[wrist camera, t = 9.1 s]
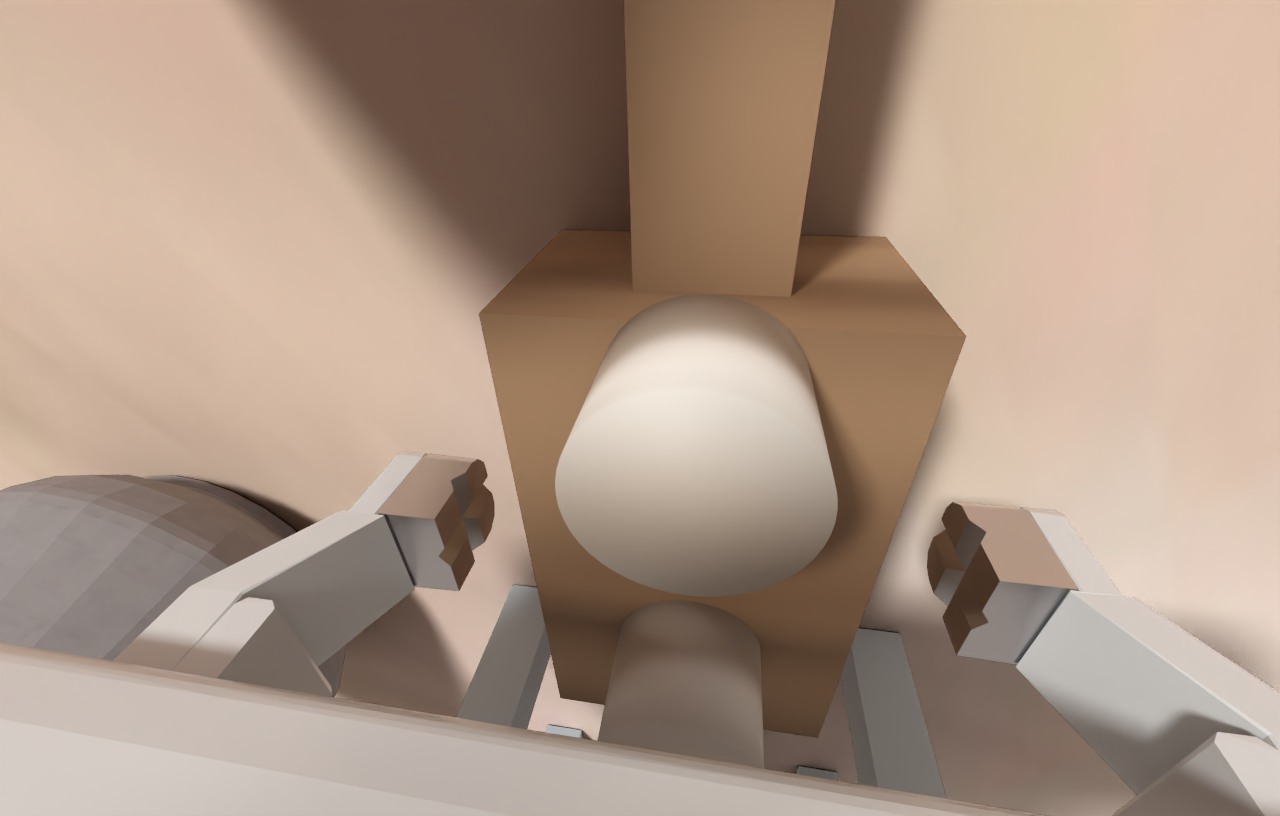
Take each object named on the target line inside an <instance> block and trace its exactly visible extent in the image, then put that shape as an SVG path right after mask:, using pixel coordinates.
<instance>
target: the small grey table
mask: <svg viewBox="0 0 1280 816" xmlns="http://www.w3.org/2000/svg"><path fill="white" fill-rule="evenodd" d="M550 654H551V651H550V646H549V641H548V637H547V632H546V627H545V622H544V618H543V613H542V608H541V604H540V599H539V594H538V589H537V588H536V587H528V586H520V585H513V586H512V588H511V590H510V593H509V595H508V597H507V600H506V602H505V604H504V607H503V609H502V611H501V614H500V616H499V618H498V621H497V623H496V625H495V628H494V630H493V632H492V635H491V637H490V639H489V642H488V644H487V646H486V649H485V651H484V653H483V656H482V658H481V660H480V663H479V665H478V667H477V670H476V672H475V674H474V677H473V679H472V681H471V684H470V686H469V688H468V691H467V693H466V695H465V698H464V700H463V702H462V705H461V707H460V709H459V712H458V714H457V716H456V718H462V719H468V720H474V721H480V722H486V723H492V724H498V725H504V726H510V727H516V728H522V729H527V727H528V724H529V721H530V718H531V715H532V711H533V708H534V705H535V702H536V699H537V696H538V692H539V689H540V686H541V683H542V680H543V676H544V673H545V670H546V667H547V664H548V661H549V657H550ZM841 678H842V684H843V690H844V696H845V702H846V708H847V714H848V720H849V726H850V732H851V739H852V745H853V751H854V757H855V763H856V769H857V775H858V781H859V784H861V785H867V786H873V787H879V788H885V789H891V790H897V791H903V792H909V793H915V794H921V795H927V796H933V797H939V798H945V799H947V797H946V793H945V790H944V786H943V783H942V779H941V776H940V772H939V769H938V765H937V761H936V758H935V754H934V751H933V747H932V744H931V740H930V737H929V733H928V729H927V726H926V722H925V719H924V715H923V712H922V708H921V704H920V701H919V697H918V694H917V690H916V687H915V683H914V680H913V676H912V672H911V669H910V665H909V662H908V658H907V655H906V651H905V648H904V644H903V640H902V637H901V634H900V633H893V632H885V631H877V630H869V629H861V628H858V630H857V633H856V636H855V638H854V641H853V644H852V646H851V649H850V652H849V654H848V657H847V660H846V663H845V665H844V668H843V671H842V673H841ZM546 732H547V733H553V734H559V735H565V736H571V737H577V738H583V737H582V731H581V730H576V729H570V728H564V727H558V726H552V725H547V729H546ZM796 774H801V775H807V776H813V777H819V778H825V779H831V780H837V781H839V780H838V773H837V772H831V771H825V770H819V769H813V768H807V767H801V766H799V767H798V769H797V772H796Z"/></svg>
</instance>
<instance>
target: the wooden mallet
mask: <svg viewBox="0 0 1280 816" xmlns="http://www.w3.org/2000/svg"><path fill="white" fill-rule="evenodd" d="M835 1H836V0H624V22H625V55H626V87H627V120H628V152H629V185H630V217H631V231H588V230H562V231H561V232H560V233H559V234H558V235H557V236H556V237H555V238H554V239H553V240H552V241H551V242H550V243H549V244H548V245H547V246H546V247H545V248H544V249H543V250H542V251H541V252H540V253H539V254H538V255H537V256H536V257H535V258H534V259H533V260H532V261H531V262H530V263H529V264H528V265H527V266H526V267H525V268H524V269H523V270H522V271H521V272H520V273H519V274H518V275H517V276H516V277H515V278H514V279H513V280H512V281H511V282H510V283H509V284H508V285H507V286H506V287H505V288H504V289H503V290H502V291H501V292H500V293H499V294H498V295H497V296H496V297H495V298H494V299H493V300H492V301H491V302H490V303H489V304H488V305H487V306H486V307H485V308H484V309H483V310H482V311H481V312H480V313H479V316H480V321H481V326H482V330H483V335H484V340H485V345H486V349H487V354H488V359H489V363H490V368H491V373H492V378H493V382H494V387H495V392H496V396H497V401H498V406H499V410H500V415H501V420H502V425H503V429H504V434H505V439H506V443H507V448H508V453H509V458H510V462H511V467H512V472H513V476H514V481H515V486H516V491H517V495H518V500H519V505H520V509H521V514H522V519H523V524H524V528H525V533H526V538H527V542H528V547H529V552H530V556H531V561H532V566H533V571H534V575H535V580H536V585H537V589H538V594H539V599H540V604H541V608H542V613H543V618H544V622H545V627H546V632H547V637H548V641H549V646H550V651H551V655H552V660H553V665H554V670H555V674H556V679H557V684H558V688H559V693H560V698H564V699H570V700H577V701H583V702H590V703H596V704H603V705H605V707H604V712H603V717H602V722H601V726H600V731H599V736H598V741H601V742H607V743H613V744H619V745H625V746H631V747H638V748H644V749H650V750H656V751H662V752H668V753H674V754H680V755H686V756H692V757H698V758H704V759H710V760H716V761H722V762H728V763H734V764H740V765H746V766H752V767H758V768H764V769H765V767H764V740H763V729H764V730H771V731H777V732H783V733H790V734H796V735H803V736H809V737H816V738H818V736H819V733H820V730H821V727H822V725H823V722H824V719H825V717H826V714H827V711H828V708H829V706H830V703H831V700H832V698H833V695H834V692H835V690H836V687H837V684H838V681H839V679H840V676H841V673H842V671H843V668H844V665H845V663H846V660H847V657H848V654H849V652H850V649H851V646H852V644H853V641H854V638H855V636H856V633H857V630H858V627H859V625H860V622H861V619H862V617H863V614H864V611H865V608H866V606H867V603H868V600H869V598H870V595H871V592H872V590H873V587H874V584H875V581H876V579H877V576H878V573H879V571H880V568H881V565H882V563H883V560H884V557H885V554H886V552H887V549H888V546H889V544H890V541H891V538H892V536H893V533H894V530H895V527H896V525H897V522H898V519H899V517H900V514H901V511H902V508H903V506H904V503H905V500H906V498H907V495H908V492H909V490H910V487H911V484H912V481H913V479H914V476H915V473H916V471H917V468H918V465H919V463H920V460H921V457H922V454H923V452H924V449H925V446H926V444H927V441H928V438H929V436H930V433H931V430H932V427H933V425H934V422H935V419H936V417H937V414H938V411H939V408H940V406H941V403H942V400H943V398H944V395H945V392H946V390H947V387H948V384H949V381H950V379H951V376H952V373H953V371H954V368H955V365H956V363H957V360H958V357H959V354H960V352H961V349H962V346H963V344H964V341H965V338H966V335H965V334H964V333H963V332H962V330H961V329H960V328H959V327H958V326H957V324H956V323H955V322H954V321H953V319H952V318H951V317H950V316H949V314H948V313H947V312H946V311H945V309H944V308H943V307H942V306H941V305H940V303H939V302H938V301H937V300H936V298H935V297H934V296H933V295H932V293H931V292H930V291H929V290H928V288H927V287H926V286H925V285H924V284H923V282H922V281H921V280H920V279H919V277H918V276H917V275H916V274H915V272H914V271H913V270H912V269H911V267H910V266H909V265H908V264H907V263H906V261H905V260H904V259H903V258H902V256H901V255H900V254H899V253H898V251H897V250H896V249H895V248H894V246H893V245H892V244H891V243H890V242H889V240H888V239H887V238H886V237H858V236H813V235H800V233H801V226H802V219H803V213H804V206H805V200H806V193H807V186H808V180H809V173H810V167H811V160H812V153H813V147H814V140H815V133H816V127H817V120H818V114H819V107H820V100H821V94H822V87H823V81H824V74H825V67H826V61H827V54H828V47H829V41H830V34H831V28H832V21H833V14H834V8H835Z"/></svg>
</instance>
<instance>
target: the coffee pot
mask: <svg viewBox="0 0 1280 816" xmlns="http://www.w3.org/2000/svg"><path fill="white" fill-rule="evenodd" d="M295 533H297V532H296V531H295V530H294V529H293V528H292V527H290V526H289V525H287V524H286V523H284V522H283V521H282V520H280V519H279V518H277V517H276V516H275V515H273V514H272V513H270V512H269V511H268V510H266V509H265V508H263V507H261V506H259V505H257V504H255V503H253V502H251V501H249V500H248V499H246V498H244V497H242V496H240V495H238V494H236V493H234V492H231V491H229V490H226V489H223V488H221V487H218V486H215V485H212V484H210V483H207V482H204V481H200V480H195V479H190V478H185V477H180V476H174V475H168V476H148V477H145V478H141V477H136V476H131V475H80V476H54V477H50V478H45V479H41V480H37V481H33V482H28V483H24V484H20V485H15V486H11V487H8V488H6V489H3V490H1V491H0V642H2V643H8V644H14V645H20V646H26V647H32V648H38V649H44V650H50V651H56V652H62V653H68V654H74V655H80V656H86V657H92V658H98V659H104V660H110V661H113V660H114V659H115V658H116V657H117V656H118V655H119V654H120V653H121V652H122V651H123V650H124V649H125V648H126V647H127V646H128V645H129V644H131V643H132V642H133V641H134V640H135V639H136V638H137V637H138V636H139V635H140V634H141V633H142V632H143V631H144V630H145V629H146V628H147V627H148V626H149V625H150V624H151V623H152V622H153V621H154V620H156V619H157V618H158V617H159V616H160V615H161V614H162V613H163V612H164V611H165V610H166V609H167V608H168V607H169V606H170V605H171V604H172V603H173V602H174V601H175V600H176V599H177V598H178V597H179V596H180V595H182V594H183V593H184V592H185V591H186V590H187V589H188V588H189V587H190V586H192V585H194V584H196V583H198V582H199V581H201V580H203V579H205V578H207V577H209V576H211V575H213V574H215V573H217V572H219V571H221V570H223V569H225V568H227V567H229V566H231V565H233V564H235V563H237V562H239V561H241V560H243V559H245V558H247V557H249V556H251V555H253V554H255V553H257V552H259V551H261V550H263V549H265V548H267V547H269V546H271V545H273V544H275V543H277V542H279V541H281V540H283V539H285V538H287V537H289V536H291V535H293V534H295ZM344 659H345V646H343V647H342V648H341V649H340V650H338V651H337V652H336V653H335V654H333V655H332V656H331V657H330V658H328V659H327V660H326V661H325V662H323V663H322V664H321V665H320V666H318V668H319V669H320V671H321V672H322V674H323V675H324V677H325V678H326V680H327V681H328V683H329V684H330V685H331V689H332V696H331V697H335V695H336V693H337V691H338V688H339V686H340V680H341V675H342V669H343V664H344Z"/></svg>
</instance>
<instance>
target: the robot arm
mask: <svg viewBox="0 0 1280 816" xmlns="http://www.w3.org/2000/svg"><path fill="white" fill-rule="evenodd" d="M487 476H488V475H487V472H486V468H485V465H484V462H482V461H481V460H479V459H473V458H464V457H455V456H446V455H438V454H424V453H416V452H407V451H405V452H402V453H400V454H398V455H397V456H396V457H395V458H394V459H393V460H392V461H391V462H390V464H389V465H388V466H387V467H386V468H385V469H384V470H383V472H382V473H381V474H380V475H379V476H378V477H377V479H376V480H375V481H374V482H373V483H372V484H371V485H370V487H369V488H368V489H367V490H366V491H365V492H364V494H363V495H362V496H361V497H360V498H359V499H358V500H357V502H356V503H355V504H354V505H353V506H352V507H351V509H350V510H349V511H338V512H336V513H334V514H332V515H330V516H328V517H326V518H324V519H322V520H320V521H318V522H316V523H314V524H313V525H311V526H309V527H307V528H305V529H303V530H301V531H299V532H297V533H295V534H293V535H291V536H289V537H287V538H285V539H283V540H281V541H279V542H277V543H275V544H273V545H271V546H269V547H267V548H265V549H263V550H261V551H259V552H257V553H255V554H253V555H251V556H249V557H247V558H245V559H243V560H241V561H239V562H237V563H235V564H233V565H231V566H229V567H227V568H225V569H223V570H221V571H219V572H217V573H215V574H213V575H211V576H209V577H207V578H205V579H203V580H201V581H199V582H198V583H196V584H194V585H192V586H190V587H189V588H188V589H187V590H186V591H185V592H184V593H183V594H182V595H180V596H179V597H178V598H177V599H176V600H175V601H174V602H173V603H172V604H171V605H170V606H169V607H168V608H167V609H166V610H165V611H164V612H163V613H162V614H161V615H160V616H159V617H158V618H157V619H156V620H154V621H153V622H152V623H151V624H150V625H149V626H148V627H147V628H146V629H145V630H144V631H143V632H142V633H141V634H140V635H139V636H138V637H137V638H136V639H135V640H134V641H133V642H132V643H131V644H129V645H128V646H127V647H126V648H125V649H124V650H123V651H122V652H121V653H120V654H119V655H118V656H117V657H116V658H115V659H114V660H113V661H110V660H104V659H98V658H92V657H86V656H80V655H74V654H68V653H62V652H56V651H50V650H44V649H38V648H32V647H26V646H20V645H14V644H8V643H2V642H0V816H1047V815H1041V814H1035V813H1029V812H1023V811H1017V810H1011V809H1005V808H999V807H993V806H987V805H981V804H975V803H969V802H963V801H957V800H951V799H945V798H939V797H933V796H927V795H921V794H915V793H909V792H903V791H897V790H891V789H885V788H879V787H873V786H867V785H861V784H855V783H849V782H843V781H837V780H831V779H825V778H819V777H813V776H807V775H801V774H795V773H789V772H783V771H777V770H771V769H764V768H758V767H752V766H746V765H740V764H734V763H728V762H722V761H716V760H710V759H704V758H698V757H692V756H686V755H680V754H674V753H668V752H662V751H656V750H650V749H644V748H638V747H631V746H625V745H619V744H613V743H607V742H601V741H595V740H589V739H583V738H577V737H571V736H565V735H559V734H553V733H547V732H541V731H534V730H528V729H522V728H516V727H510V726H504V725H498V724H492V723H486V722H480V721H474V720H468V719H462V718H456V717H450V716H444V715H438V714H431V713H425V712H419V711H413V710H407V709H401V708H395V707H389V706H383V705H377V704H371V703H365V702H359V701H353V700H347V699H341V698H335V697H331V696H332V689H331V685H330V684H329V683H328V681H327V680H326V678H325V677H324V675H323V674H322V672H321V671H320V669H319V668H318V666H320V665H321V664H322V663H323V662H325V661H326V660H327V659H328V658H330V657H331V656H332V655H333V654H335V653H336V652H337V651H338V650H340V649H341V648H342V647H343V646H345V645H346V644H347V643H348V642H350V641H351V640H352V639H353V638H355V637H356V636H357V635H358V634H360V633H361V632H362V631H363V630H365V629H366V628H367V627H368V626H370V625H371V624H372V623H373V622H375V621H376V620H377V619H378V618H379V617H381V616H382V615H383V614H384V613H386V612H387V611H388V610H389V609H391V608H392V607H393V606H394V605H396V604H397V603H398V602H399V601H401V600H402V599H403V598H404V597H406V596H407V595H408V594H409V593H411V592H412V591H413V590H414V589H415V588H414V587H423V588H433V589H443V590H453V591H459V590H460V588H461V586H462V585H463V583H464V581H465V579H466V577H467V575H468V573H469V571H470V569H471V568H472V566H473V564H474V562H475V560H474V556H473V553H472V550H474V549H475V548H477V547H478V546H480V545H481V544H483V543H484V542H485V541H486V539H487V537H488V535H489V533H490V531H491V527H492V523H493V519H494V500H493V495H492V493H491V492H490V491H489V490H488V489H487V488H486V487H485V486H484V485H483V483H484V481H485V479H486V478H487ZM942 521H943V523H944V526H945V528H946V530H945V531H943V532H942V533H940V534H938V535H937V536H935V537H933V540H932V542H931V545H930V548H929V550H928V560H927V570H928V576H929V581H930V584H931V587H932V590H933V593H934V594H935V595H936V596H937V597H938V598H940V599H941V600H942V601H943V602H944V603H945V604H946V605H947V606H948V607H947V609H946V611H945V613H944V615H943V620H944V623H945V625H946V628H947V631H948V633H949V636H950V639H951V641H952V644H953V647H954V649H955V652H956V655H958V656H965V657H971V658H978V659H984V660H991V661H997V662H1004V663H1010V664H1017V666H1016V668H1017V669H1018V670H1019V671H1020V672H1021V673H1022V674H1023V675H1024V677H1025V678H1026V679H1027V680H1028V681H1029V682H1030V683H1031V684H1032V685H1033V686H1034V687H1035V688H1036V689H1037V690H1038V691H1039V692H1040V693H1041V694H1042V696H1043V697H1044V698H1045V699H1046V700H1047V701H1048V702H1049V703H1050V704H1051V705H1052V706H1053V707H1054V708H1055V709H1056V710H1057V711H1058V712H1059V713H1060V714H1061V716H1062V717H1063V718H1064V719H1065V720H1066V721H1067V722H1068V723H1069V724H1070V725H1071V726H1072V727H1073V728H1074V729H1075V730H1076V731H1077V732H1078V733H1079V735H1080V736H1081V737H1082V738H1083V739H1084V740H1085V741H1086V742H1087V743H1088V744H1089V745H1090V746H1091V747H1092V748H1093V749H1094V750H1095V751H1096V752H1097V753H1098V755H1099V756H1100V757H1101V758H1102V759H1103V760H1104V761H1105V762H1106V763H1107V764H1108V765H1109V766H1110V767H1111V768H1112V769H1113V770H1114V771H1115V772H1116V773H1117V775H1118V776H1119V777H1120V778H1121V779H1122V780H1123V781H1124V782H1125V783H1126V784H1127V785H1128V786H1129V787H1130V788H1131V789H1132V790H1133V791H1134V792H1135V794H1136V795H1137V796H1135V797H1134V798H1133V799H1132V800H1130V801H1129V802H1128V803H1126V804H1125V805H1124V806H1123V807H1121V808H1120V809H1119V810H1118V811H1116V812H1115V813H1114V815H1113V816H1280V693H1279V692H1277V691H1276V690H1274V689H1273V688H1271V687H1270V686H1268V685H1267V684H1265V683H1264V682H1262V681H1261V680H1259V679H1258V678H1256V677H1255V676H1253V675H1252V674H1250V673H1249V672H1247V671H1246V670H1244V669H1243V668H1241V667H1240V666H1238V665H1237V664H1235V663H1233V662H1232V661H1230V660H1229V659H1227V658H1226V657H1224V656H1223V655H1221V654H1220V653H1218V652H1217V651H1215V650H1214V649H1212V648H1211V647H1209V646H1208V645H1206V644H1205V643H1203V642H1202V641H1200V640H1199V639H1197V638H1196V637H1194V636H1193V635H1191V634H1190V633H1188V632H1187V631H1185V630H1184V629H1182V628H1180V627H1179V626H1177V625H1176V624H1174V623H1173V622H1171V621H1170V620H1168V619H1167V618H1165V617H1164V616H1162V615H1161V614H1159V613H1158V612H1156V611H1155V610H1153V609H1152V608H1150V607H1149V606H1147V605H1146V604H1144V603H1143V602H1141V601H1140V600H1138V599H1137V598H1135V597H1127V596H1123V595H1122V594H1121V592H1120V591H1119V590H1118V588H1117V587H1116V586H1115V584H1114V583H1113V581H1112V580H1111V579H1110V577H1109V576H1108V574H1107V573H1106V572H1105V570H1104V569H1103V568H1102V566H1101V565H1100V563H1099V562H1098V561H1097V559H1096V558H1095V556H1094V555H1093V554H1092V552H1091V551H1090V550H1089V548H1088V547H1087V545H1086V544H1085V543H1084V541H1083V540H1082V539H1081V537H1080V536H1079V534H1078V533H1077V532H1076V530H1075V529H1074V527H1073V526H1072V525H1071V523H1070V522H1069V521H1068V519H1067V518H1066V516H1064V515H1063V514H1062V513H1060V512H1059V511H1057V510H1051V509H1038V508H1025V507H1020V508H1017V507H1007V506H995V505H983V504H971V503H959V502H952V503H951V504H950V505H949V506H948V507H947V508H946V510H945V512H944V514H943V517H942Z"/></svg>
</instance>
